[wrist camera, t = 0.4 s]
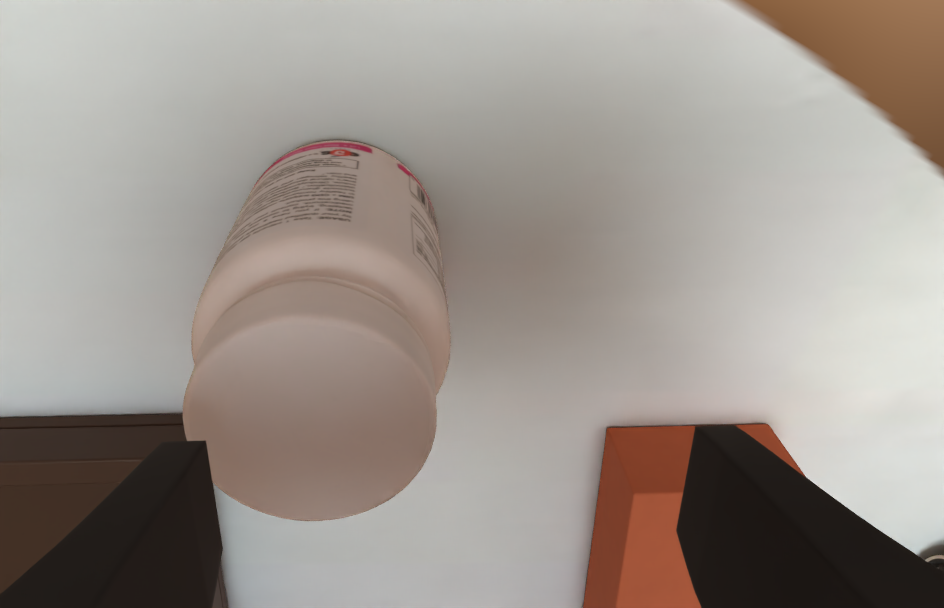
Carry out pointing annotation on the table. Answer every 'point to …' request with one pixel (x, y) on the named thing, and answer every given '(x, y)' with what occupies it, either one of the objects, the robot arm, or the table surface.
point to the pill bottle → (322, 337)
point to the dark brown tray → (68, 478)
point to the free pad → (647, 517)
